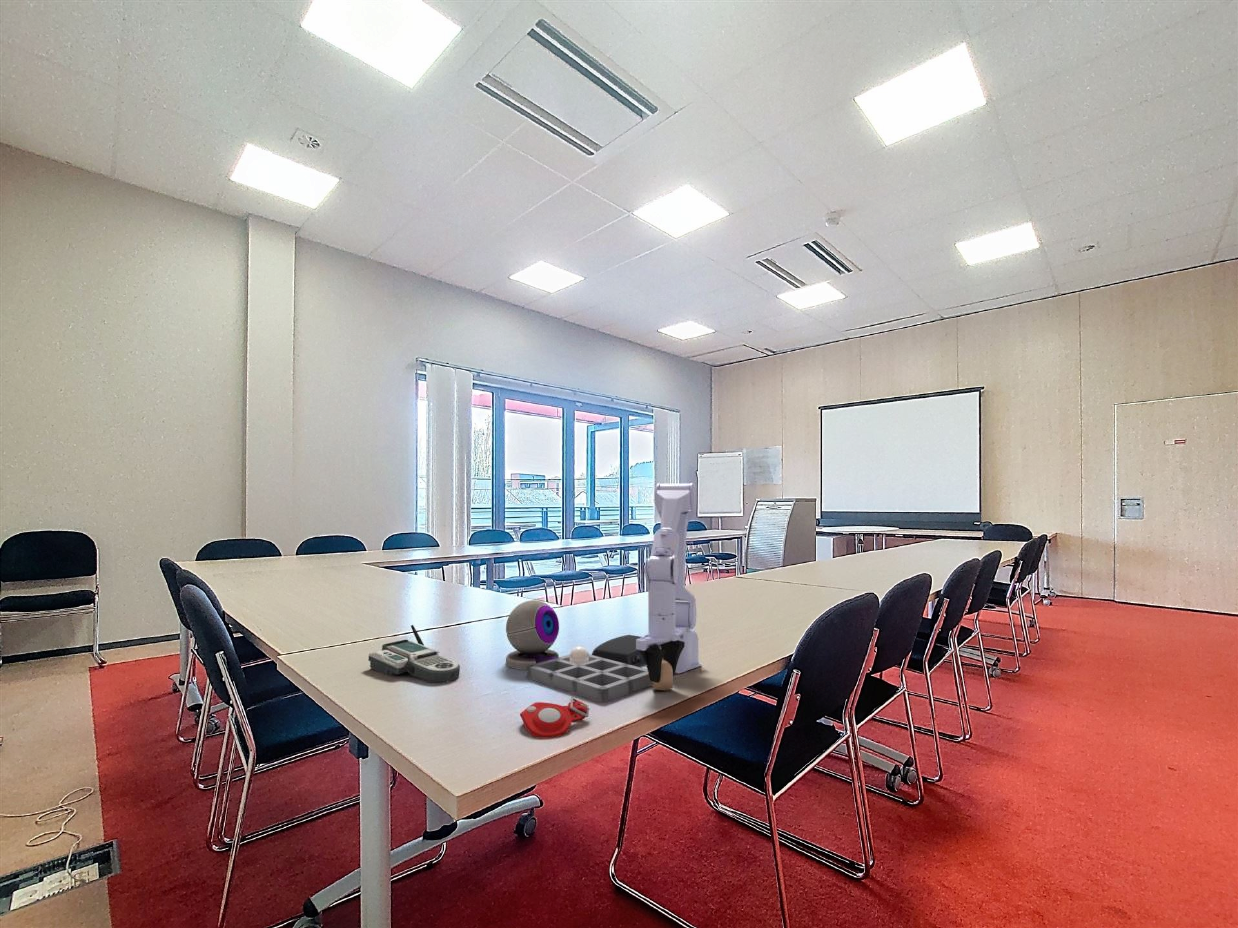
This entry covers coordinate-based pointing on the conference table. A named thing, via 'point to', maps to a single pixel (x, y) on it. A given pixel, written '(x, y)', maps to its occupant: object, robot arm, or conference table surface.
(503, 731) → the conference table surface
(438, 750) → the conference table surface
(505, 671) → the conference table surface
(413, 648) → the communication device
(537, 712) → the tracker holder
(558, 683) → the egg crate
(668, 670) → the tan bulbous object
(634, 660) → the external hard drive
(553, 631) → the webcam
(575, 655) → the cream egg
